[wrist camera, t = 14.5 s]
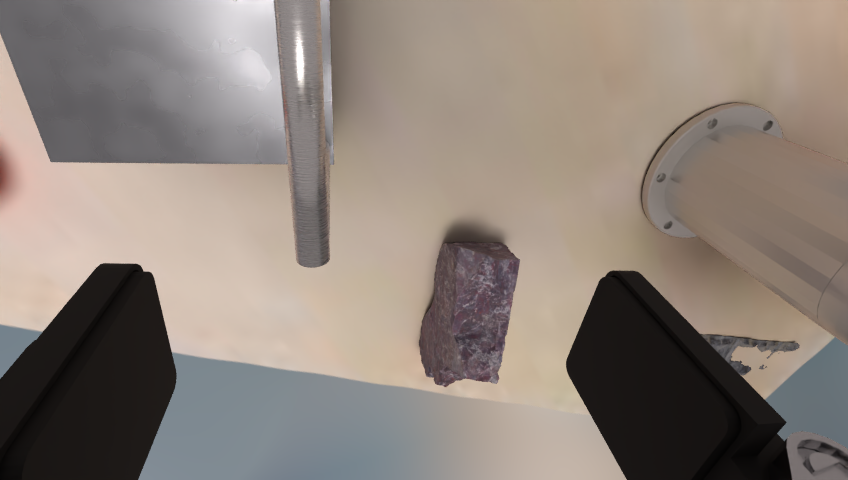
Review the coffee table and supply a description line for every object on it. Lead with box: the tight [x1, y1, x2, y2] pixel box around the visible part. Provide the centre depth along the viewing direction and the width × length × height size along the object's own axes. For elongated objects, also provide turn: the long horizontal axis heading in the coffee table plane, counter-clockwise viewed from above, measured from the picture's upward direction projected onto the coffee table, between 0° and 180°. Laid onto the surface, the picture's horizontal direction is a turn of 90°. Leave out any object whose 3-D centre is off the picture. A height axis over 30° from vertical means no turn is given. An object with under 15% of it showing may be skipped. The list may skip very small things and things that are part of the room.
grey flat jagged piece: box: [700, 334, 799, 375], centre depth 55 cm, size 21×7×2 cm, turn 74°
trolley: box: [0, 0, 334, 267], centre depth 18 cm, size 14×16×18 cm
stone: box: [419, 242, 520, 387], centre depth 37 cm, size 10×6×15 cm
